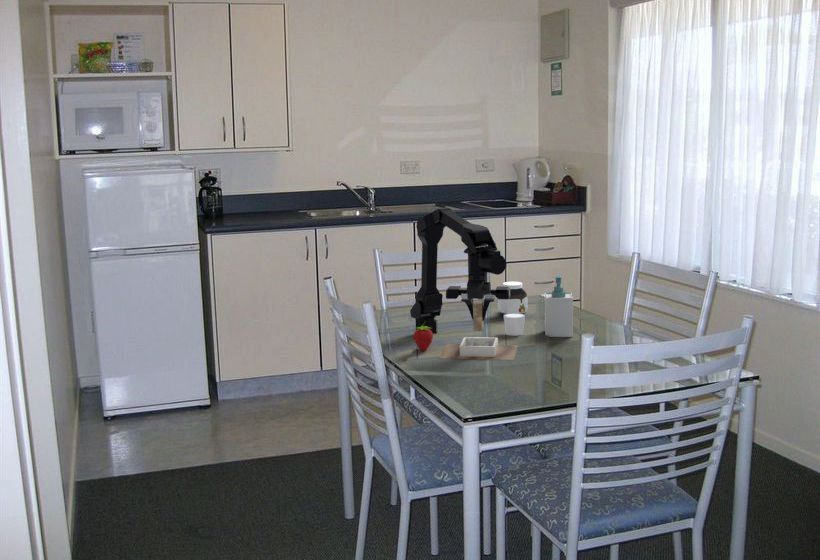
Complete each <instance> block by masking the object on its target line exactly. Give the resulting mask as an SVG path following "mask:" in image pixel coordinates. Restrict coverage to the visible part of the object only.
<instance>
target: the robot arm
mask: <svg viewBox="0 0 820 560" xmlns="http://www.w3.org/2000/svg"><path fill="white" fill-rule="evenodd" d="M415 227H416V233H417V234H416V235H417V237H418V239H419V240H420V242H421V280H420V281H421V284H420V287H419V290H418V291H417V292H416V295H415V296H416V297H415V300H414V301H415V302H414V304H413V305H412V307H411V309H410V311H409V313H410V317H411V318H413V319H414V320H415V328H416V327H421V326H422V325H423V326H427V327H430V328H432V329H430V330H431V331H432V333H433V335H434V334H435V335H436V334H438V331H439V330H438V329H439V328H438V325H439V322H438V320H437V317H439V316H440V315H441V311H442V308H443V305H444V304H443V293H440V291H439V289H438V287H437V283H438V282H437V279H438V277H437V276H438V249H439V248H438V247H439V246H438V245H439V243H440V242H441V240H442V238H443V236H444V229H445V228H446V227H447V228H448V229H450V230H451V231H453V232H454V233H455V234H457V235H458V236H460V241H461V242H462V243H463V244H464V245H465V246H466V247H467V248H464V250H463V254H467V278H468V279H467V280H468V281H467V282H466V288H465V289H464V288H462V286H461V285H455V286H454V285H451V286H448V287H447V289H446V290H445V299H446V300H448V299H449V300H456V299H457V298H458V297H459V296H460V297H461V299H460V301H461V302H464V303H465V305H466V307H467V308H468V311H469V314H470V316H471V319H472V320H473V304H474V299H475V300H483V315H482V320H483V321H485V318H486V315H487V312H488V309H489V306H490V304H491V303H493V302H495V299H497V300H498V299H509V297H510V288H509V287H503V285H502V286H501V285H500V286H496V288H495V289H492V288H491V287H492V286H491V281H488V273H490V274H492V275H497V276H498V275H501V274H503V273H504V272H505V270H506V268H507V261H506V258H505V257H504V256H503V255H502V254H501V250H498V247H497V244H496V242H495V241H494V239H493V236H492V233H491V232H490V229H489V228H488V227H487V226H484V225H481V224H475V223H471V222H469V221H468V220H467V219H465V218H464V217H462V216H461V215H459V214H457V213H455V212H454V211H453V210H452V209H451V208H449V207H440V208H436V209H435V210H433V211H432V212H431V213H428V214H426V215H423V217H422V216H421V217H419V219H417V222H416V226H415ZM425 321H426V322H425ZM424 322H425V323H424ZM416 330H418V329H415V331H416Z"/></svg>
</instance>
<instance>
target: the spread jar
mask: <svg viewBox="0 0 820 560" xmlns="http://www.w3.org/2000/svg"><path fill="white" fill-rule="evenodd" d="M502 287H509V288H510V297H509V299H497V309H498V312H499V314H500V315H502V317H504V315H505V314H509V313H520V314H524V315H525V314H526V313H527V310H528V301H529V300H528V293H527V292H526V290H525V289H524V288H523V282H521V281H506V282H502Z"/></svg>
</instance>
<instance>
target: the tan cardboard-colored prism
mask: <svg viewBox="0 0 820 560" xmlns="http://www.w3.org/2000/svg"><path fill="white" fill-rule="evenodd" d="M473 303H474V304H473V319H472V322H473V323H472V324H473V332H482V331H483V330H484V327H485V323H484V321H485V320H484V321H483V320H482V315H483V306H484V300H474V301H473Z"/></svg>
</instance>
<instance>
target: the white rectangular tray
mask: <svg viewBox="0 0 820 560" xmlns="http://www.w3.org/2000/svg"><path fill="white" fill-rule="evenodd" d="M460 344H461V345H460V356H480V357H495V355H496V352H497V349H498V345H499V338H498V337H486V336H485V337H483V336H481V337H476V336H475V337H474V336H473V337H471V336H467V337H466V336H464V337H463V338H462V341H461V343H460Z"/></svg>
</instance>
